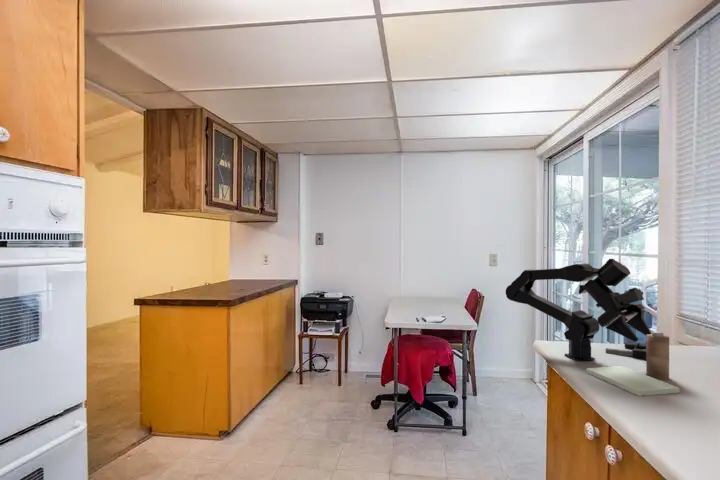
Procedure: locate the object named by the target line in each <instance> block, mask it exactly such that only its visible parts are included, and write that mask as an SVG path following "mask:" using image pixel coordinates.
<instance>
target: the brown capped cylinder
mask: <svg viewBox="0 0 720 480" xmlns="http://www.w3.org/2000/svg"><path fill="white" fill-rule="evenodd" d="M651 333H652V334H647V336H646V343H645V344H646V363H645V365H646V366H645V367H646V371H645V372H646V374H645V375H647V376H650V377H652V378H655V379H658V380H660V381H668V380H670V337H669V336H667V335H664V332H661V331H652V332H651Z"/></svg>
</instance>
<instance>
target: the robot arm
mask: <svg viewBox="0 0 720 480" xmlns="http://www.w3.org/2000/svg"><path fill="white" fill-rule="evenodd" d="M629 275H631V271H630V269H629V268H628V267H627V266H626V265H624V264H622V263H621V262H619V261H617V260H616V259H614V258H609V259H608V260H607V261H606V262H605V263H604V264H603V265H602V266H600V268H597V267H593V266H592V265H591V264H590V263H584V262H583V263H576V264H575V263H574V264H571V265H566V266H563V267H560V268H544V269H534V268H533V269H525V270H523V271H522V272H521V273H520V275H519V276H518V277H517V278H515V279H514V280H513V281H512V282H511V284H509V285H508V286H507V287H506V288H505V295H506V298H507V299H508V300H509V301H512V302H515V303H518V304H524V305H528V306H530V307H532V308H534V309H536V310H538V311H539V312H541V313H543V314H545V315H547V316H550V317H551V318H554V319H555V320H557V321H558V322H561V323H563V324H564V325H565V327H566V328H567V330H565V332H563V335H564V338H565V339H566V340H567V341H568V353H564V356H565V357H568V358H570V359H573V360H574V361H577V362H581V361H595V360H596V358H595V357H593V356H592V346H591V345H592V341H591V340H592V339H594V337H595V335H596V334H597V333H598V332H599V331H600V327H601V328H605V329H607V330H610V331H611V332H614V333H616V334H618V335H620V336H622V337H625V338H627V339H628V340H630V341H633V343H637V341H639V338H638V337H637V335H636V334H635V333H634V331H633V330H632V328H634V330H637V331H638V332H640V333H641V334H642V335H644V336H646V337H647V334H652V332H651V330H650V327H649V326H648V325H647V322H646V321H645V318H644V316H645V313H646V311H645V310H646V307H644V305H642V303H637V302H639V301H640V302H641V301H644V300H645V297H644V296H643V295H644V292H643V291H641V289H639V288H637V287H632V288H629V289H628V291H627V292H623V293H621V294H620V292H617V291H615V292H614V291H613V290H612V289H611V288H610V287H611V286H612V287H617V286H618V285H619V284H620V283H621V282H622V281H624V280H625V279H626V278H627V277H628V276H629ZM593 278H594V279H593ZM541 280H543V281H544V280H547V281H548V280H563V281H566V282H567V281H569V282H574V283H575V282H576V283H581V282H586V283H585V284H580V285H579V286H578V287H579V289H578V294H580V295H581V294H586V293H587V294H588V295H589V296H590V297H591V298H592V299H593V300H594V301H595V302H596V304H595V306H596V307H597V308H601V309H602V310H603V311H604V312H603V313H602V314H600V315H599V316H598V317H597V319H596V317H594V315H593V314H589V313H587V312H586V311H584V310H576V311H570V310H568V309H566V308H564V307H562V306H560V305H558V304H556V303H554V302H552V301H550V300H548V299H546V298H544V297H542V296H539V295H537V294H536V293H535V292H534V291H533V287H534V284H535V282H536V281H541ZM631 303H632V304H631ZM631 327H632V328H631Z"/></svg>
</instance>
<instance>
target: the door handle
mask: <svg viewBox="0 0 720 480" xmlns="http://www.w3.org/2000/svg"><path fill="white" fill-rule="evenodd" d="M624 348H625V349H621V348H620V349H619V348H609V347H608V348H607V347H606V348H605V353H606V354H612V355H619V356H624V357H631V358H634V359H639V360H646V343H642V342H641V343H640V342H630V341H628V342H625V343H624Z"/></svg>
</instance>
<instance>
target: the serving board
mask: <svg viewBox="0 0 720 480" xmlns="http://www.w3.org/2000/svg"><path fill="white" fill-rule="evenodd" d="M585 371H586V373H587V374H588V375H591V376H594V377H596V378H598V379H599V380H602V381H604V380H605V381H604V382H606V381H607V382H606V383H609V384H611V385H613V384H614V385H613V386H615V385H616V387H617V386H618V388H620V389H622V390H624V389H625V391H626V390H627V392H628V391H629V392H628V393H632V394H633V395H635V394H636V395H635V396H637V395H638V396H637V397H643V396H642V395H645V396H654V395H669V394H678V393H680V387H678V386H675V385H672V384H670V383H667V382H665V381H664V380H658V379H655V378H652V377H650V376H647V375H646V374H644V373H643V372H639V371H637V370H634V369H631V368H629V367H626V366H624V365H618V366H617V365H616V366H602V367H601V366H600V367H588V368H586V370H585Z"/></svg>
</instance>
